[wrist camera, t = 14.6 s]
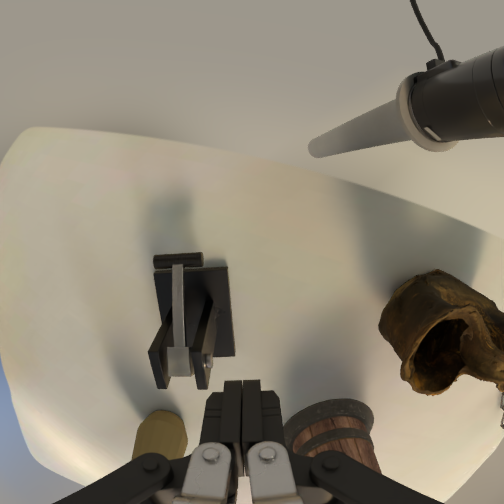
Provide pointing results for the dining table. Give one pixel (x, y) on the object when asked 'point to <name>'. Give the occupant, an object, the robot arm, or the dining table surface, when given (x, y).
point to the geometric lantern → (503, 413)
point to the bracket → (195, 322)
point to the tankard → (333, 430)
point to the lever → (179, 310)
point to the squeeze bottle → (161, 436)
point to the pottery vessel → (444, 333)
